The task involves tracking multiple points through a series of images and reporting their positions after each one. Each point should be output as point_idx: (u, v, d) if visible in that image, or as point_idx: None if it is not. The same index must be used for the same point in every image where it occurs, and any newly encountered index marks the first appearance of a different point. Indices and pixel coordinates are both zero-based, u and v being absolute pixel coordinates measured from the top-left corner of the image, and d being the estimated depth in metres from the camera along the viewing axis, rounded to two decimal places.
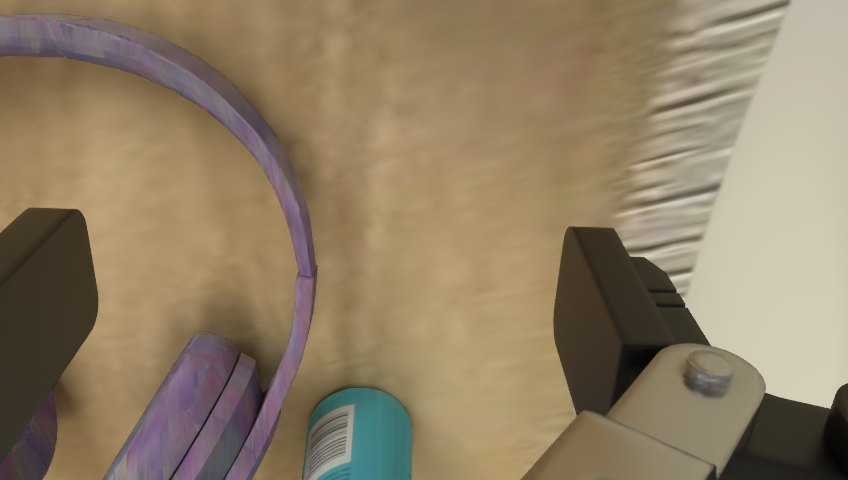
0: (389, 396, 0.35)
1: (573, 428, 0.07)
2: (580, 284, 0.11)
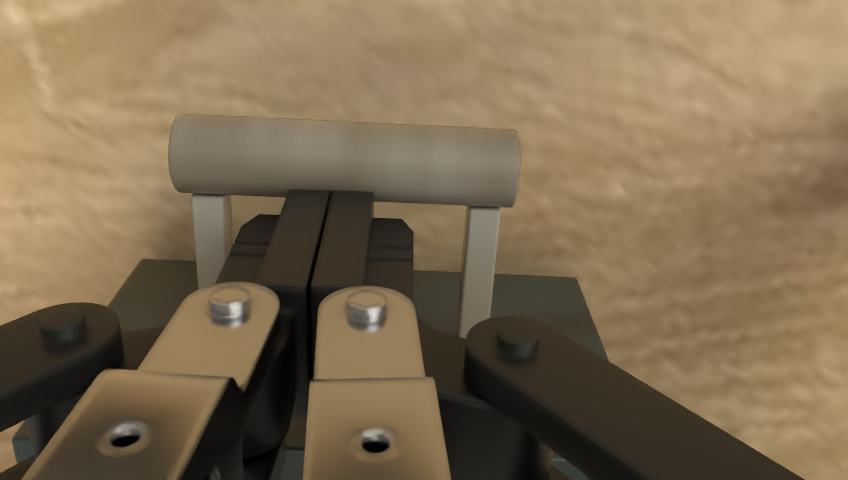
0: None
1: (309, 402, 0.07)
2: None
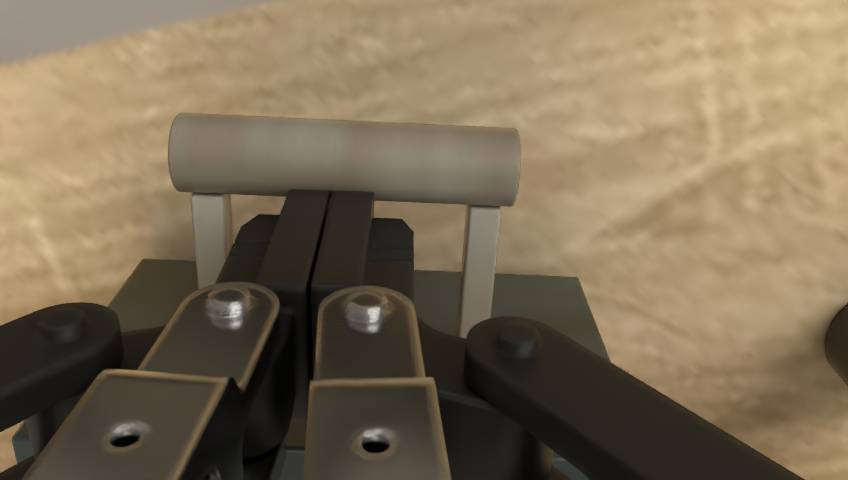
0: None
1: (309, 401, 0.07)
2: None
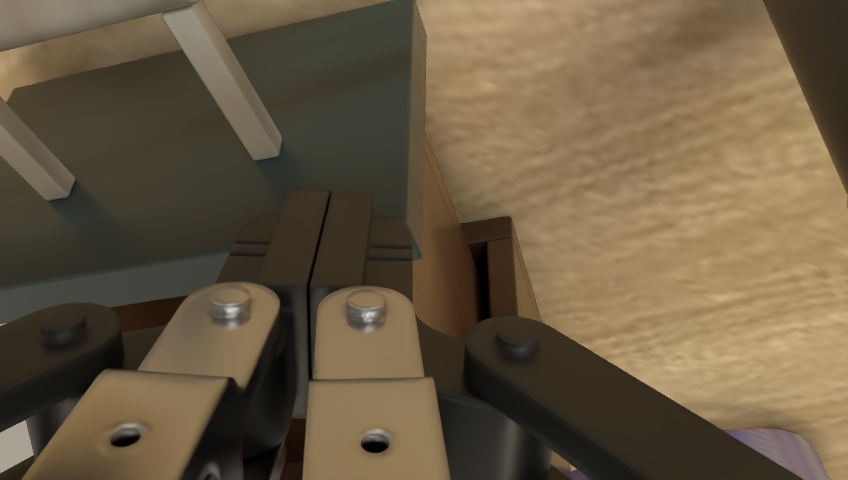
0: None
1: (309, 402, 0.07)
2: None
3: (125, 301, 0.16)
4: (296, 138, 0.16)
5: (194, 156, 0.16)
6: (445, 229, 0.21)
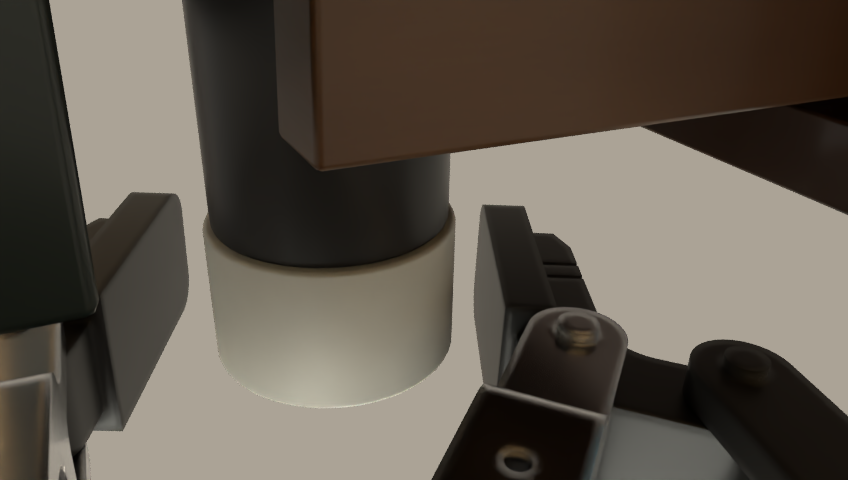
0: None
1: (474, 404, 0.07)
2: (486, 259, 0.12)
3: None
4: None
5: None
6: None
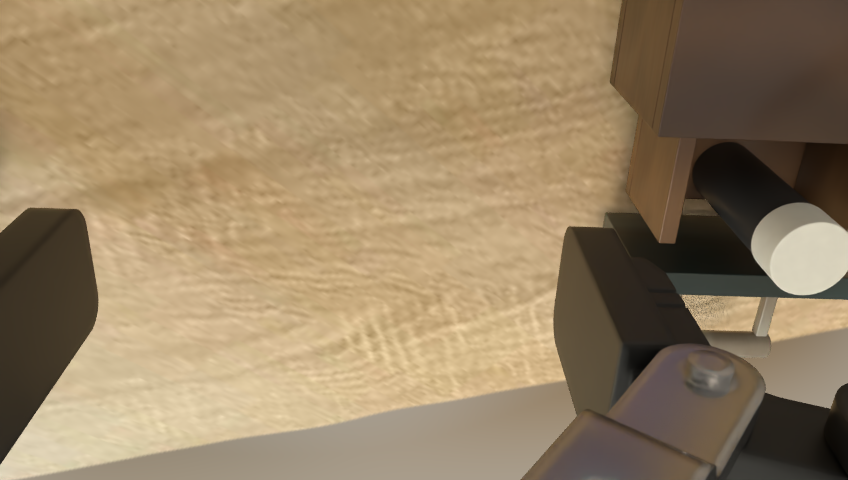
0: None
1: (572, 428, 0.07)
2: (580, 284, 0.11)
3: (769, 278, 0.37)
4: None
5: None
6: (645, 139, 0.38)
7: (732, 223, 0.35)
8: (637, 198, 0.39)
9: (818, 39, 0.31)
